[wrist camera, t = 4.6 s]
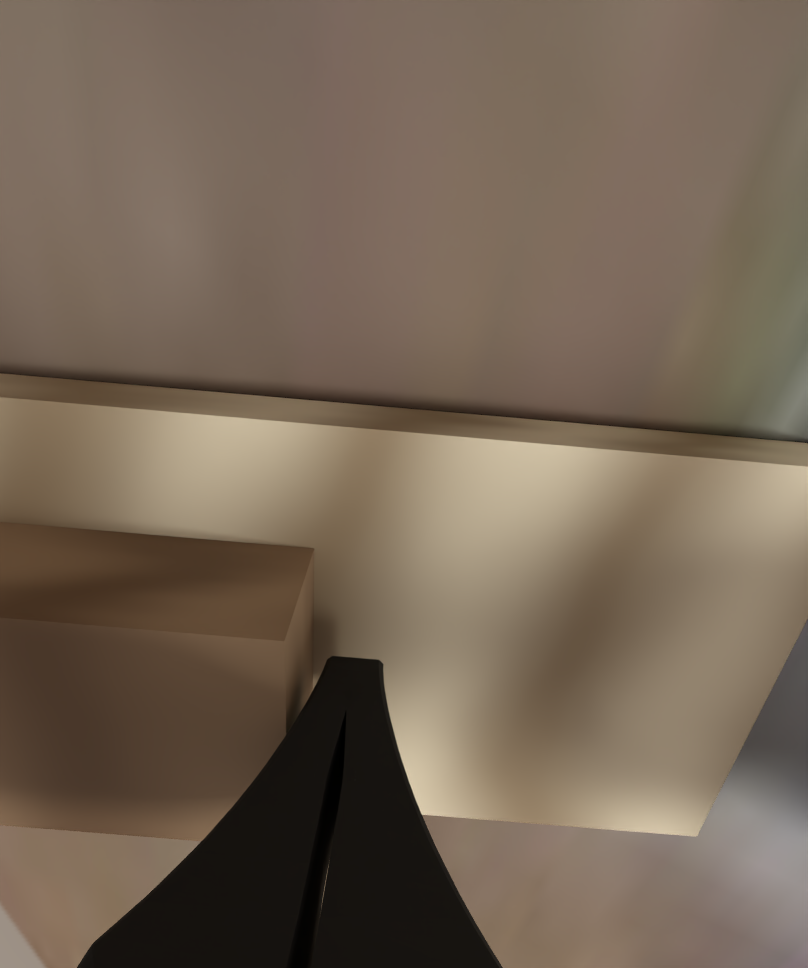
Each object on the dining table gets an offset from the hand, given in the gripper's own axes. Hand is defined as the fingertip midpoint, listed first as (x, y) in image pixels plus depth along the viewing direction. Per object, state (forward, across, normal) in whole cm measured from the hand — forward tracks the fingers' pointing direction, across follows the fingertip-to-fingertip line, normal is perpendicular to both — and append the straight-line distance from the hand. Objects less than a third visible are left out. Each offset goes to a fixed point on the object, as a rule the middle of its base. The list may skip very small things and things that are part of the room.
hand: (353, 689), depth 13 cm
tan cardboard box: (+1, +5, 0) cm, 5 cm away
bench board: (+3, +1, 0) cm, 3 cm away
